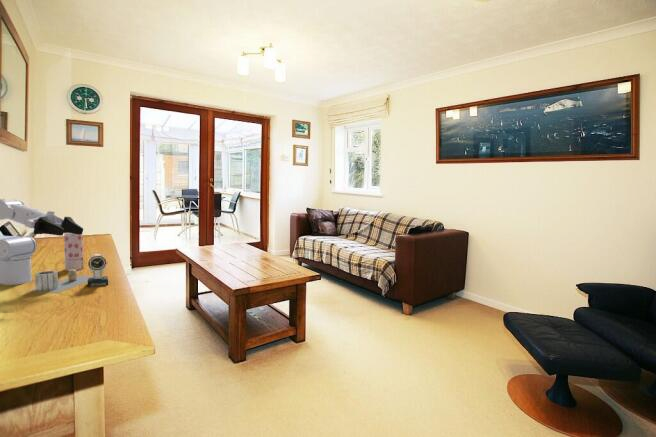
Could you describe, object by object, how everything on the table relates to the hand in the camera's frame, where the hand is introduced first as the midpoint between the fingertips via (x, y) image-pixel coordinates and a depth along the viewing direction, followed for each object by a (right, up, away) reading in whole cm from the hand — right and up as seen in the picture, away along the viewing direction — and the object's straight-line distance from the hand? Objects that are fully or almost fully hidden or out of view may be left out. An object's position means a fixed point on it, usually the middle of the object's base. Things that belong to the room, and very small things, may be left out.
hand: (72, 232), depth 113 cm
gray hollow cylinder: (-6, -17, -3) cm, 18 cm away
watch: (+6, -18, +3) cm, 20 cm away
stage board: (-4, -18, +3) cm, 19 cm away
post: (-5, -16, +6) cm, 18 cm away
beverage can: (-15, -16, +23) cm, 32 cm away
